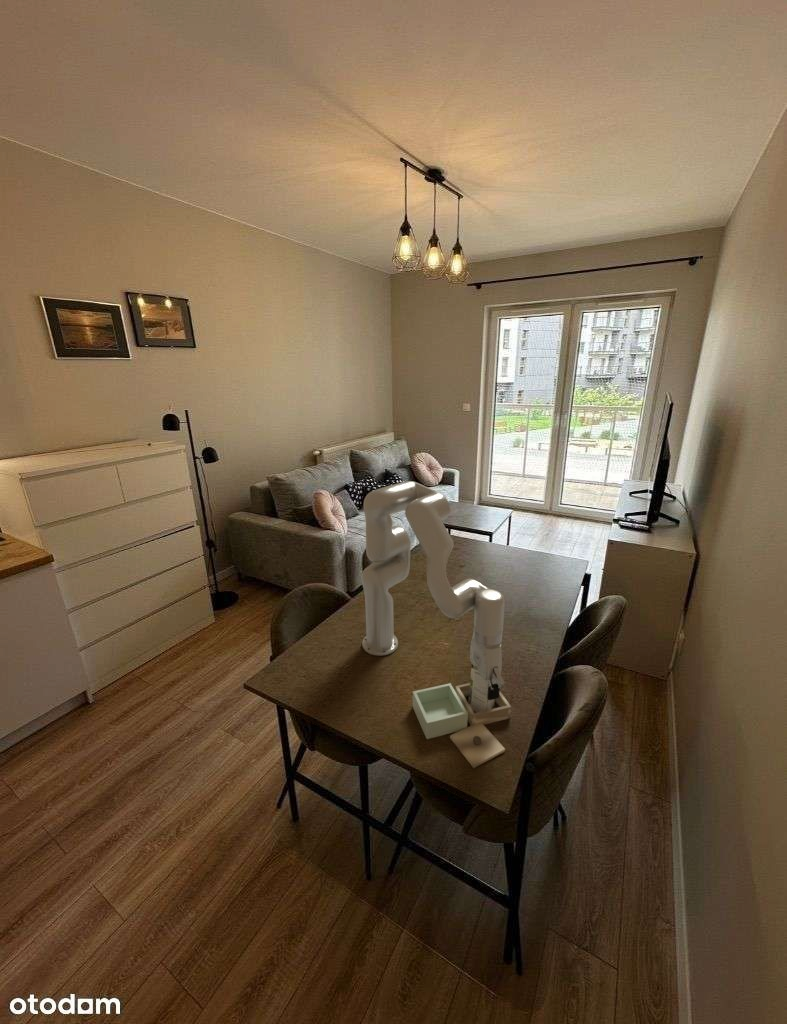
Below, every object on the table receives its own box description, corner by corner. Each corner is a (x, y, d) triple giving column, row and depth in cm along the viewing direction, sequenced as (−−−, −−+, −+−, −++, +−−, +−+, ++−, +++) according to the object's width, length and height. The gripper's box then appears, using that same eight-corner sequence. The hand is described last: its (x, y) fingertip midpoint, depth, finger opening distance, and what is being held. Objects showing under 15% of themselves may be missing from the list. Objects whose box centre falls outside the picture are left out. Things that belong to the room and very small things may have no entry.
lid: (449, 737, 110) (450, 732, 110) (479, 723, 115) (480, 718, 114) (473, 768, 102) (474, 762, 101) (504, 751, 106) (505, 746, 106)
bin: (412, 706, 120) (412, 691, 119) (449, 698, 123) (450, 683, 122) (426, 739, 110) (426, 723, 108) (466, 729, 113) (467, 713, 111)
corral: (454, 697, 124) (455, 686, 123) (489, 688, 127) (490, 678, 126) (472, 727, 113) (472, 716, 112) (510, 718, 116) (511, 706, 115)
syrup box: (477, 696, 124) (480, 656, 119) (495, 706, 120) (499, 665, 116) (467, 708, 120) (470, 667, 115) (486, 718, 116) (489, 676, 111)
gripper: (461, 619, 119) (459, 669, 124) (490, 657, 103) (487, 712, 108) (485, 615, 121) (482, 664, 126) (517, 651, 105) (513, 705, 110)
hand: (484, 686), depth 117 cm, fingers open, 9 cm apart
